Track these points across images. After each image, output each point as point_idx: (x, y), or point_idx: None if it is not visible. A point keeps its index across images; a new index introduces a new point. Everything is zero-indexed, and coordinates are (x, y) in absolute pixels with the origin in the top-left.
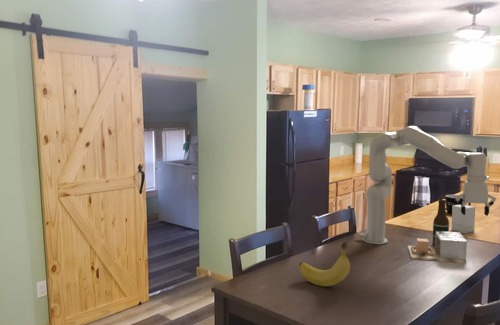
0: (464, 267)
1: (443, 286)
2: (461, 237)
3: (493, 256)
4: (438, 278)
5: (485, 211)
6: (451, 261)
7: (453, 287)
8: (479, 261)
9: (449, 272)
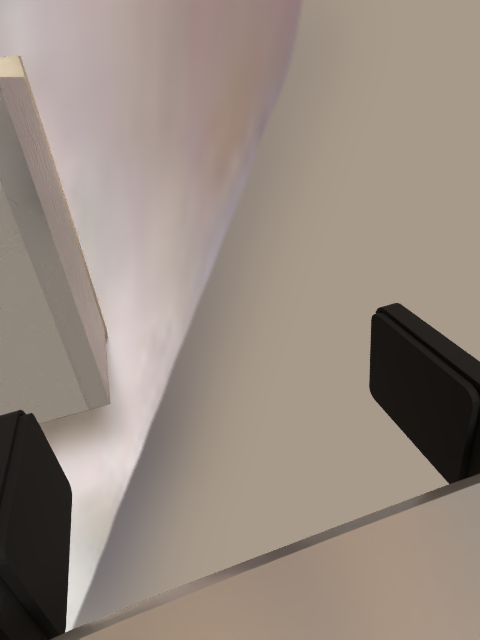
0: None
1: None
2: (52, 306)
3: (274, 104)
4: None
5: (404, 397)
6: None
7: (82, 597)
8: (179, 261)
9: None
